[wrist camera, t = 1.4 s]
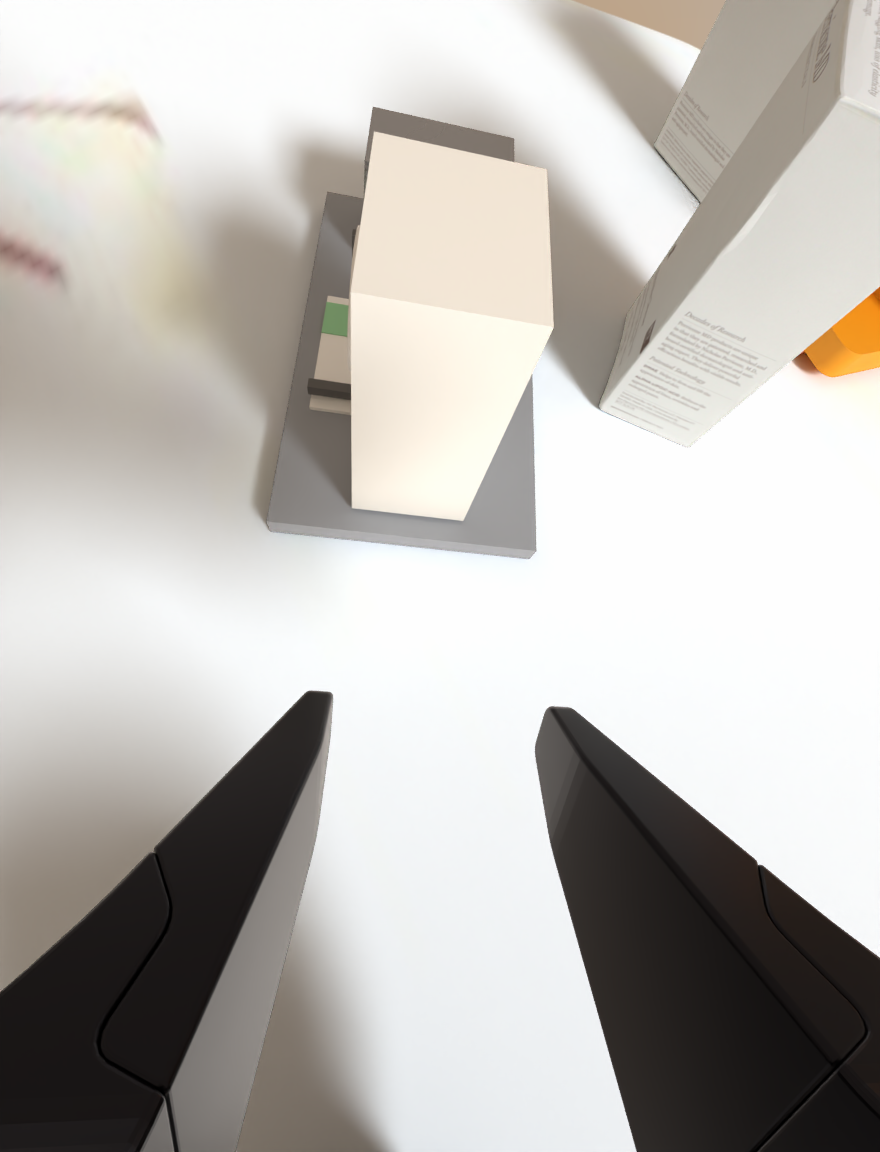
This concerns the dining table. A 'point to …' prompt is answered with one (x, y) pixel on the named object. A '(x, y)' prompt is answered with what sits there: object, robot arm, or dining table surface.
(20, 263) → the dining table surface
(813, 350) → the bracket
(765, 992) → the robot arm
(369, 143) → the dark gray block
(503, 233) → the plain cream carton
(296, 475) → the gray flat rectangular panel
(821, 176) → the skincare box
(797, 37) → the supplement box
